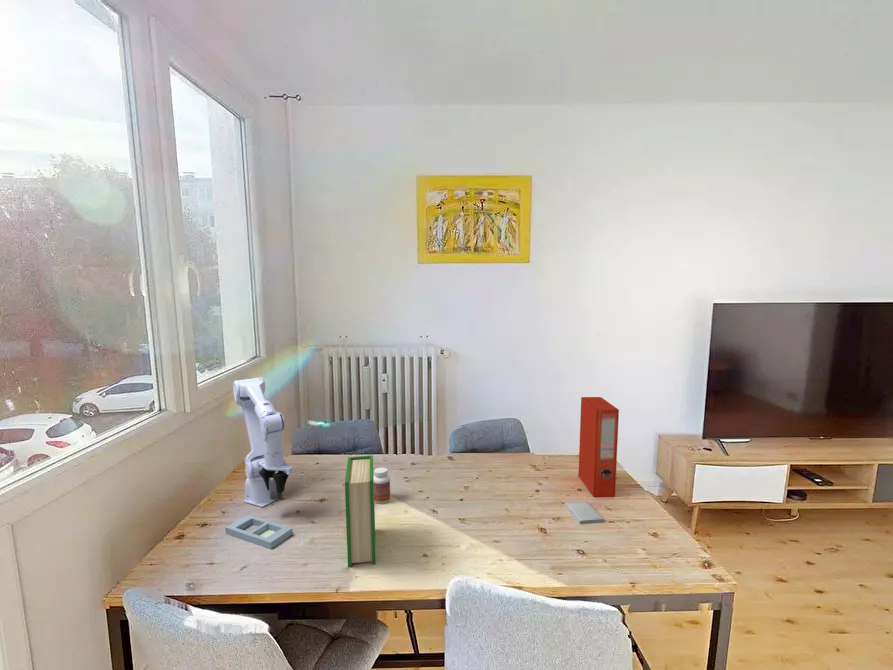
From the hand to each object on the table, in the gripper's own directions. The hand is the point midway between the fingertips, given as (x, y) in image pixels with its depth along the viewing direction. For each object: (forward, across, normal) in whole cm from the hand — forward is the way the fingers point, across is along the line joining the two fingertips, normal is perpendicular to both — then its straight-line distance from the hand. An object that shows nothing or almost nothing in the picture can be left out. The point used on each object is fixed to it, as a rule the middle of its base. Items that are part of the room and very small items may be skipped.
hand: (275, 491), depth 145 cm
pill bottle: (+9, -25, -24) cm, 36 cm away
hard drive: (+10, -91, -45) cm, 102 cm away
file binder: (+9, -92, -67) cm, 114 cm away
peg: (+2, 0, 0) cm, 2 cm away
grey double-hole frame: (+9, -3, +10) cm, 14 cm away
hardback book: (+9, -36, +2) cm, 37 cm away
